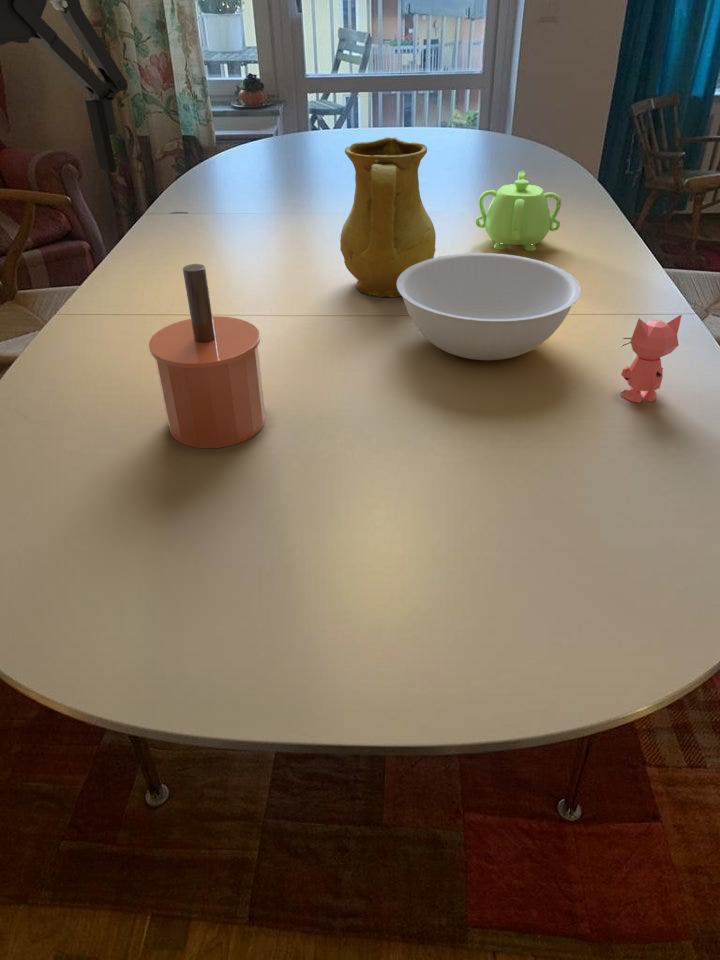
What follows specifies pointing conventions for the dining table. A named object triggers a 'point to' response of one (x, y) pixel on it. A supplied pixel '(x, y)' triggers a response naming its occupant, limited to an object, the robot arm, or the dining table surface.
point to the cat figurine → (649, 357)
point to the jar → (213, 402)
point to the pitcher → (386, 215)
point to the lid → (203, 331)
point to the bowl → (487, 303)
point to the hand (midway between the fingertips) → (43, 181)
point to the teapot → (518, 214)
